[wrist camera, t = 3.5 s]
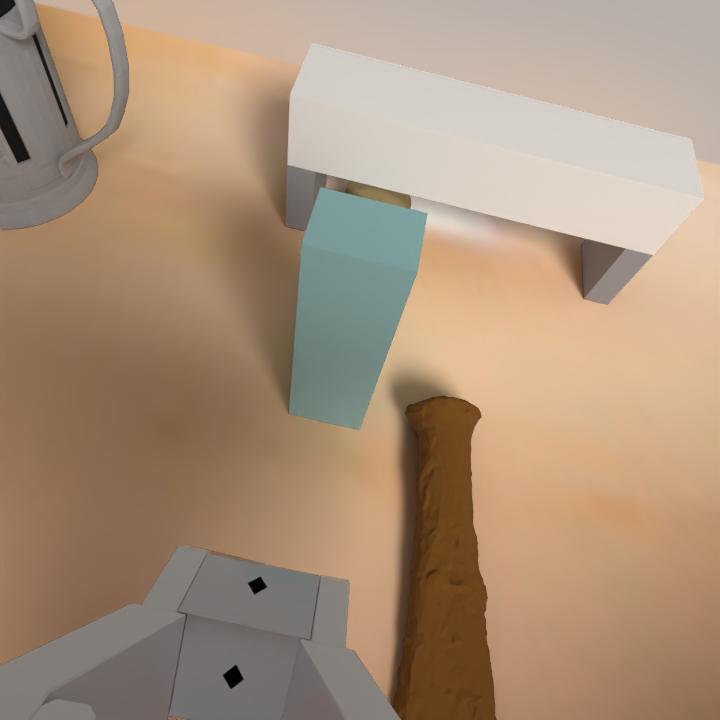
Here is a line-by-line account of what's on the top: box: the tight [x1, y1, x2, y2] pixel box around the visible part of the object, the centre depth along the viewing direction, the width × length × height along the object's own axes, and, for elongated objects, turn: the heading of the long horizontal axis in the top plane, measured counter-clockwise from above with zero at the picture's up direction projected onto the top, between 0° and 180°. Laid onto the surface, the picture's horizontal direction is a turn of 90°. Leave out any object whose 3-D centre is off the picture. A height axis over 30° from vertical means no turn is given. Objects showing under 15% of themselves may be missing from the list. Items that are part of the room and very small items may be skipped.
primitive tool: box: [393, 396, 497, 720], centre depth 21 cm, size 19×6×4 cm, turn 0°
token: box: [345, 181, 411, 209], centre depth 33 cm, size 4×4×2 cm
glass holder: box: [0, 0, 129, 230], centre depth 24 cm, size 9×14×15 cm, turn 67°
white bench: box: [285, 43, 705, 305], centre depth 30 cm, size 20×4×8 cm, turn 79°
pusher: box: [289, 187, 427, 430], centre depth 24 cm, size 4×12×12 cm, turn 169°
